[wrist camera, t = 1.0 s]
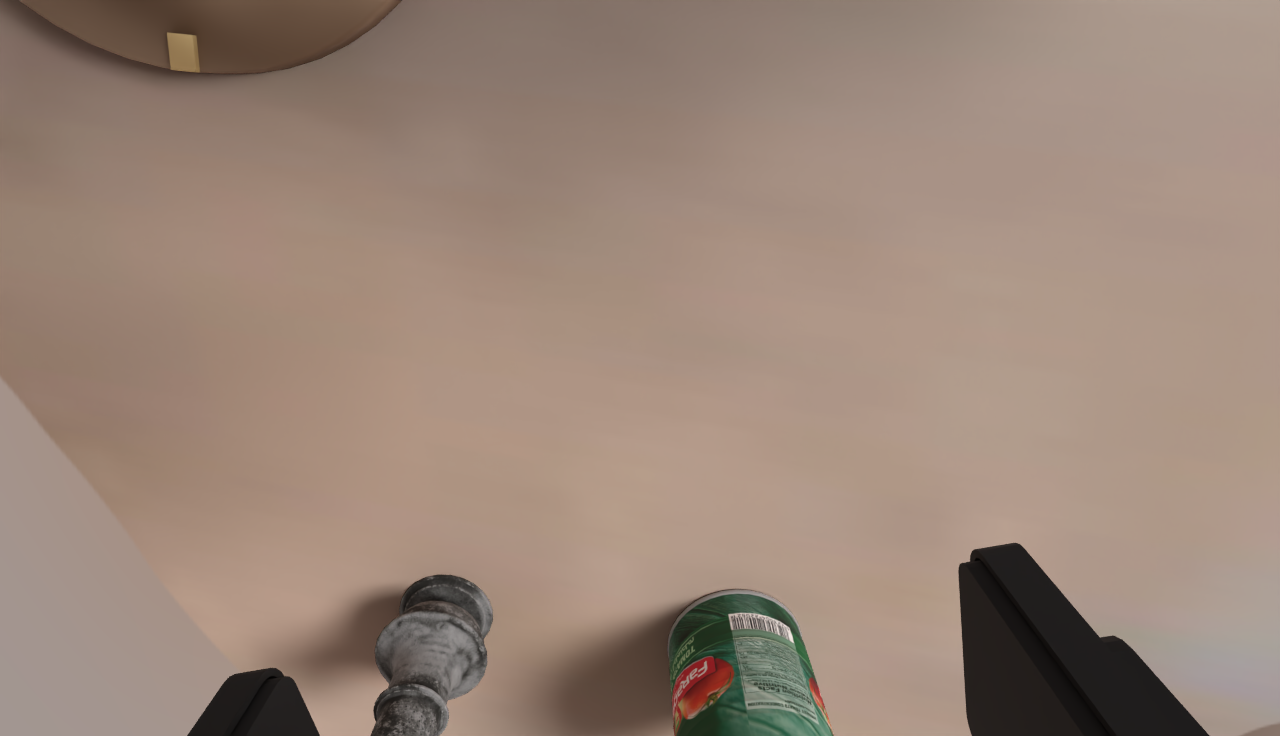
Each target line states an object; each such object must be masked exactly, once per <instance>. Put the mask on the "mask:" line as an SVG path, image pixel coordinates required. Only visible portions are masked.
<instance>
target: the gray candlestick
mask: <svg viewBox="0 0 1280 736" xmlns="http://www.w3.org/2000/svg"><path fill="white" fill-rule="evenodd" d="M399 611H400V616H398V617H397V618H396V619H394V620H393V621H391V622H390V623H389V624H388V625H387V626H386V627H384V629H383V631H382V632H381V634H380V635H379V637H378V639H377V643H376V647H375V658H376V664H377V666H378V668H379V670H380V673H381V674H382V676H383V677H384V678H385V679H386V680H387V682H388V683H389V684H390V685H389V687H388V689H386V690H385V691H383V692H382V693H381V694H380V695H379V697H378V698H377V700H376V702H375V706H374V718H375V720H376V724H375V726H374V729H373V731H372V734H371V736H439V735H440V734H442V732H443V731H444V730H445V728H446V727H447V723H448V719H449V712H448V708H447V705H446V704H447V701H448V700H450V699H455V698H457V697H459V696H462V695H464V694H466V693H468V692H469V691H470V690H472V689H473V688H474V687H475V686H477V684H478V683H479V682H480V680H481V679H482V677H483V676H484V673H485V669H486V666H487V651H486V648H485V645H484V640H483V639H484V638H485V636H486V635H487V634H488V632H489V631H490V627H491V624H492V621H493V611H492V607H491V604H490V601H489V599H488V598H487V596H486V595H485V594H484V592H483V591H482V590H481V589H480V588H478V587H477V586H476V585H475V584H474V583H472V582H470V581H468V580H465V579H463V578H460V577H456V576H452V575H435V576H430V577H426V578H423V579H421V580H419V581H417V582H415V583H414V584H413V585H412V586H411V587H410V588H409V589H408V590H407V591H406V593H405V594H404V596H403V598H402V600H401V604H400V608H399Z"/></svg>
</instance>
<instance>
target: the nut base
mask: <svg viewBox="0 0 1280 736" xmlns="http://www.w3.org/2000/svg"><path fill="white" fill-rule="evenodd" d="M19 1H20V2H22V3H23V4H25V5H26V6H28V7H29V8H30V9H32V10H33V11H35V12H36V13H38V14H39V15H41V16H42V17H44V18H45V19H47V20H48V21H50V22H51V23H53V24H54V25H56V26H58V27H59V28H61V29H63V30H65V31H67V32H69V33H71V34H73V35H75V36H76V37H78V38H80V39H82V40H84V41H86V42H88V43H90V44H92V45H94V46H97V47H99V48H102V49H104V50H107V51H110V52H112V53H115V54H117V55H120V56H122V57H125V58H127V59H131V60H135V61H139V62H143V63H147V64H151V65H155V66H158V67H162V68H169V69H171V70H177V71H187V72H198V73H200V72H203V73H219V74H248V73H263V72H269V71H276V70H282V69H288V68H292V67H295V66H298V65H302V64H305V63H308V62H311V61H314V60H317V59H320V58H322V57H325V56H327V55H329V54H331V53H333V52H335V51H337V50H339V49H341V48H343V47H345V46H347V45H349V44H350V43H352V42H353V41H355V40H356V39H357V38H359V37H360V36H362V35H363V34H365V33H366V32H368V31H369V30H370V29H372V28H373V27H375V26H376V25H377V24H378V23H379V22H380V21H381V20H382V19H383V18H384V17H385V16H386V15H388V14H389V13H390V12H391V11H392V10H393V9H394V8H395V7H396V6H397V5H398V4H399V3H400V2H401V1H402V0H19Z"/></svg>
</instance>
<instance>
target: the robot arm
mask: <svg viewBox="0 0 1280 736" xmlns="http://www.w3.org/2000/svg"><path fill="white" fill-rule="evenodd" d="M959 589H960V607H961V624H962V642H963V660H964V678H965V695H966V713H967V720H968V724H969V728H970V731H971V734H972V736H1209V735H1208V734H1207V732H1206V731H1205V730H1204V729H1203V728H1202V727H1201V726H1200V725H1199V723H1198V722H1197V721H1196V720H1195V719H1194V718H1193V717H1192V716H1191V714H1190V713H1189V712H1188V711H1187V710H1186V709H1185V708H1184V707H1183V705H1182V704H1181V703H1180V702H1179V701H1178V700H1177V699H1176V698H1175V696H1174V695H1173V694H1172V693H1171V692H1170V691H1169V690H1168V689H1167V687H1166V686H1165V685H1164V684H1163V683H1162V682H1161V681H1160V680H1159V678H1158V677H1157V676H1156V675H1155V674H1154V673H1153V672H1152V671H1151V669H1150V668H1149V667H1148V666H1147V665H1146V664H1145V663H1144V661H1143V660H1142V659H1141V658H1140V657H1139V656H1138V655H1137V654H1136V652H1135V651H1134V650H1133V649H1132V648H1131V647H1130V646H1129V645H1127V644H1126V643H1125V642H1124V641H1123V640H1122V639H1120V638H1117V637H1115V636H1108V637H1101V638H1100V637H1099V636H1098V635H1097V634H1096V633H1095V631H1094V630H1093V629H1092V628H1091V627H1090V626H1089V624H1088V623H1087V622H1086V621H1085V620H1084V618H1083V617H1082V616H1081V615H1080V614H1079V613H1078V611H1077V610H1076V609H1075V608H1074V607H1073V605H1072V604H1071V603H1070V602H1069V601H1068V600H1067V598H1066V597H1065V596H1064V595H1063V594H1062V593H1061V591H1060V590H1059V589H1058V588H1057V587H1056V585H1055V584H1054V583H1053V582H1052V581H1051V580H1050V578H1049V577H1048V576H1047V575H1046V574H1045V572H1044V571H1043V570H1042V569H1041V568H1040V567H1039V565H1038V564H1037V563H1036V562H1035V561H1034V559H1033V558H1032V557H1031V556H1030V555H1029V554H1028V552H1027V551H1026V550H1025V549H1024V548H1023V547H1022V546H1021V545H1020V544H1018V543H1011V544H1005V545H999V546H993V547H987V548H981V549H975V550H973V551H972V553H971V556H970V562H966V563H961V564H960V565H959ZM187 736H320V735H319V733H318V731H317V728H316V726H315V724H314V722H313V720H312V718H311V715H310V713H309V711H308V709H307V707H306V705H305V703H304V700H303V698H302V696H301V694H300V692H299V690H298V687H297V685H296V683H295V682H294V680H293V679H292V678H290V677H287V676H285V677H284V675H283V674H282V672H281V671H279V670H278V669H276V668H268V669H262V670H256V671H250V672H244V673H238V674H234V675H232V676H230V677H229V678H228V679H227V680H226V681H225V682H224V684H223V685H222V686H221V688H220V689H219V691H218V692H217V693H216V695H215V696H214V698H213V699H212V701H211V702H210V704H209V705H208V706H207V708H206V709H205V711H204V712H203V714H202V715H201V717H200V718H199V719H198V721H197V722H196V724H195V725H194V727H193V728H192V730H191V731H190V733H189V734H188V735H187Z"/></svg>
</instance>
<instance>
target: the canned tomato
mask: <svg viewBox="0 0 1280 736" xmlns="http://www.w3.org/2000/svg"><path fill="white" fill-rule="evenodd" d="M667 651H668V658H669V672H670V684H671V696H672V709H673V722H674V726H673V727H674V734H675V736H834V734H833V731H832V728H831V725H830V722H829V719H828V716H827V712H826V710H825V706H824V703H823V700H822V697H821V694H820V691H819V688H818V685H817V682H816V679H815V676H814V673H813V669H812V666H811V663H810V660H809V657H808V654H807V651H806V648H805V645H804V642H803V640H802V634H801V631H800V628H799V625H798V622H797V621H796V619H795V617H794V616H793V614H792V613H791V611H790V610H789V609H788V608H787V607H786V606H785V605H784V604H782V603H781V602H779V601H778V600H776V599H775V598H773V597H771V596H768V595H766V594H763V593H760V592H756V591H751V590H739V589H734V590H725V591H720V592H716V593H713V594H709V595H707V596H705V597H703V598H701V599H699V600H697V601H695V602H694V603H693V604H691V605H690V606H688V607H687V608H686V609H685V610H684V611H683V612H682V613H681V614H680V615H679V616H678V618H677V619H676V621H675V623H674V624H673V626H672V628H671V631H670V634H669V637H668V646H667Z"/></svg>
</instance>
